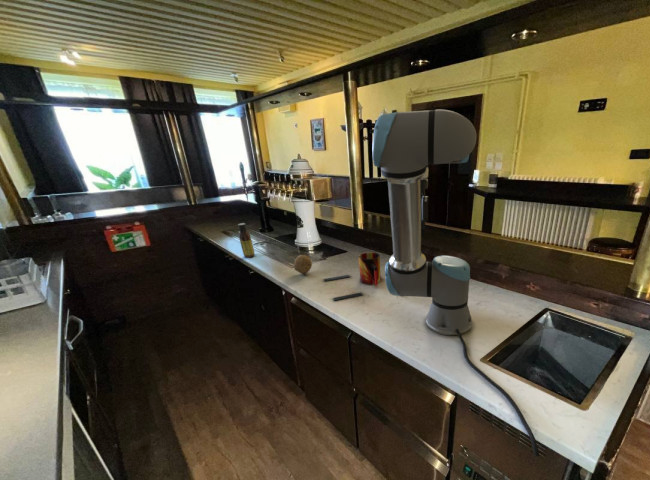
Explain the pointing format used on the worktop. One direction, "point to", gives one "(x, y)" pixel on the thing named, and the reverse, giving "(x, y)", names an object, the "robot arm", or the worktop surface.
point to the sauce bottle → (245, 241)
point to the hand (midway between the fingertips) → (418, 234)
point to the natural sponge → (302, 264)
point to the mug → (369, 268)
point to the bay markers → (346, 295)
